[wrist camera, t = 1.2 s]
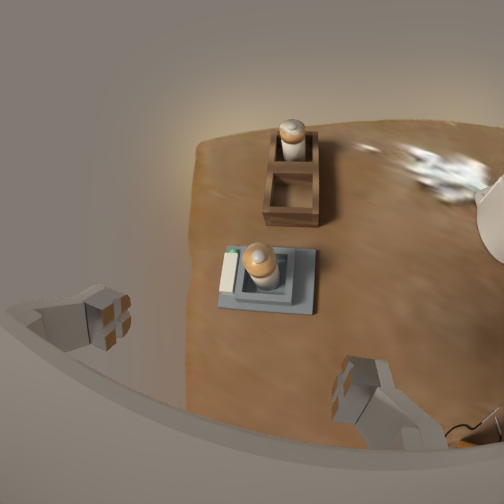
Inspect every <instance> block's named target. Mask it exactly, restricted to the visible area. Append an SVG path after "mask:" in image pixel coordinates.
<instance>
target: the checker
mask: <svg viewBox="0 0 504 504" xmlns="http://www.w3.org/2000/svg"><path fill="white" fill-rule="evenodd" d="M247 247H248V246H227V250H226V253H225V256H224V262H223V269H222V275H221V281H220V288H219V291H220V294H219V301H218V307H219V308H223V309H233V310H244V311H255V312H267V313H281V314H296V315H312V310H313V294H314V277H315V255H316V249H296V248H281V247H272V248H273V250H274V252H275V255H276V259H277V264H278V268H279V272H280V276H281V280H280V283H279V285H278V286H277V287H276V288H275V289H273V290H271V291H263V290H260V289H259V288H258V287H257V286H256V285H255V283H254V281H253V279H252V278H251V276H250V274H249V273H248V272H247V270H246V268H245V267H244V265H243V261H242V256H243V253H244V251H245V250H246V248H247Z"/></svg>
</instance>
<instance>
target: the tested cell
mask: <svg viewBox="0 0 504 504" xmlns="http://www.w3.org/2000/svg"><path fill="white" fill-rule="evenodd" d="M242 261H243V265H244V267H245V268H246V270H247V272H248V273H249V274H250V276H251V278H252V279H253V281H254V283H255V285H256V286H257V287H258V288H259V289H260V290H263V291H271V290H273V289H275V288H276V287H277V286H278V285H279V283H280V280H281V276H280V272H279V268H278V264H277V259H276V255H275V252H274V250H273V248H272V247H271V246H270V245H268V244H266V243H262V242H257V243H254V244H251V245H250V246H248V247H247V248H246V250H245V251H244V253H243V256H242Z"/></svg>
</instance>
